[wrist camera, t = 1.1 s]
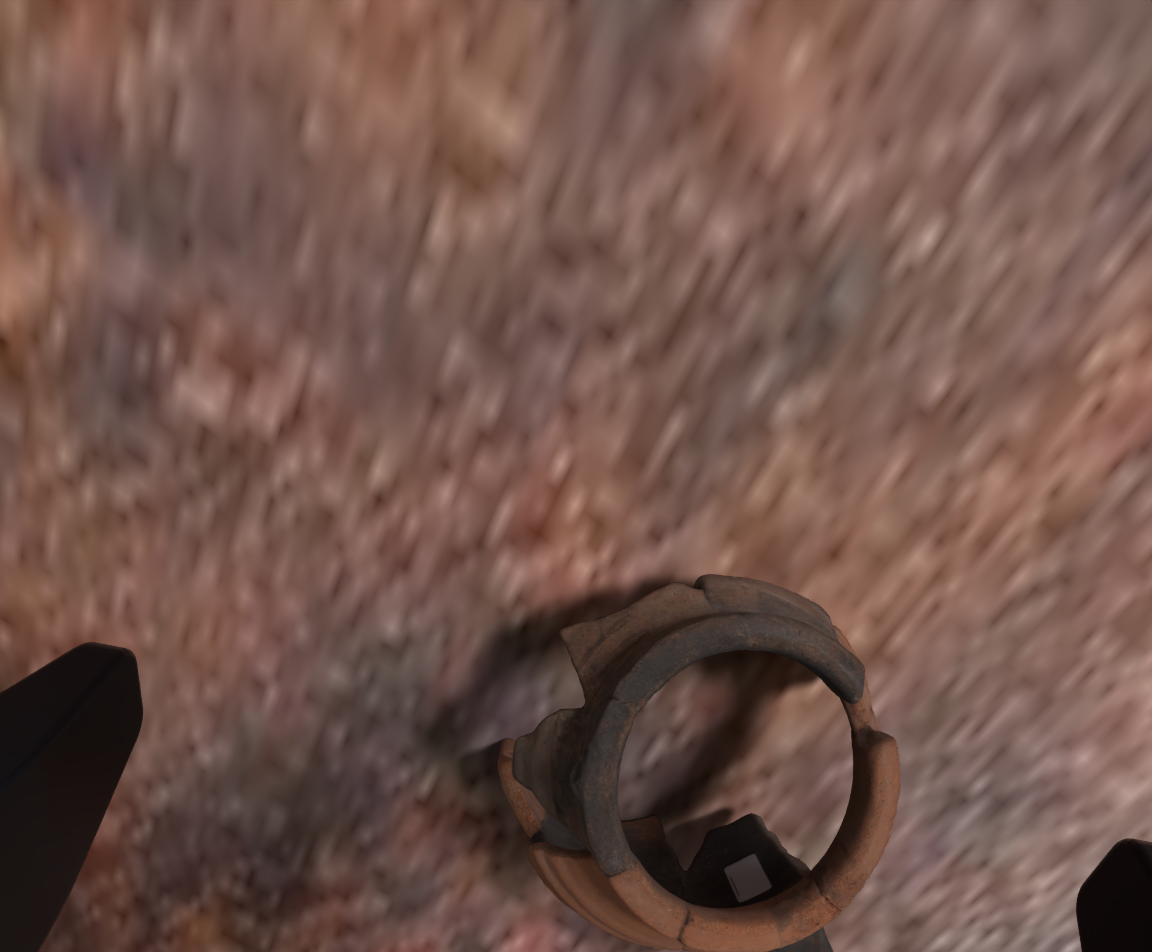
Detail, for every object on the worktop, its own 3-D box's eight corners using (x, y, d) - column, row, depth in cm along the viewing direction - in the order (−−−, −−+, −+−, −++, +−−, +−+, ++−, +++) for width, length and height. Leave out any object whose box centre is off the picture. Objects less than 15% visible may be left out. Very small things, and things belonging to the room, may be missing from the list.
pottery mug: (410, 676, 26) (447, 755, 19) (679, 488, 29) (818, 484, 21) (639, 1013, 28) (766, 1220, 20) (879, 810, 30) (1080, 923, 22)
